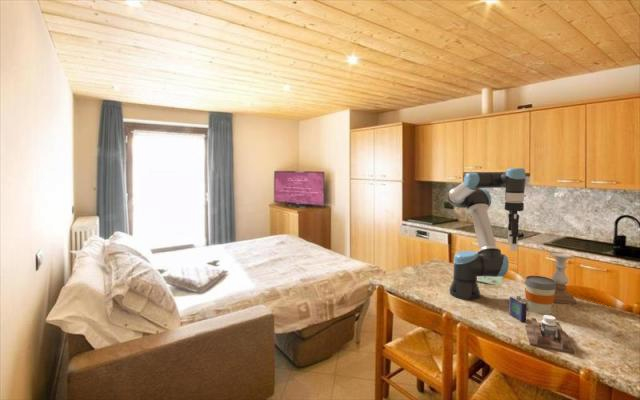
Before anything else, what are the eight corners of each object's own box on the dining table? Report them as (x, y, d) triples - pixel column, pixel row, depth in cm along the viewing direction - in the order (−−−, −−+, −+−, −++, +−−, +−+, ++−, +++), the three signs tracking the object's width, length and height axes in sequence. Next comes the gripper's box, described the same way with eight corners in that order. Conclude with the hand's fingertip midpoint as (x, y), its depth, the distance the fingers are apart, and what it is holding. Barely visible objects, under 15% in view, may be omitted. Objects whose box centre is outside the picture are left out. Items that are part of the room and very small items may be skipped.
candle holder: (576, 304, 161) (579, 257, 159) (551, 302, 164) (554, 256, 161) (564, 295, 172) (567, 251, 170) (541, 294, 174) (544, 251, 172)
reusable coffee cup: (545, 318, 147) (547, 286, 146) (517, 307, 158) (519, 278, 157) (560, 312, 153) (562, 281, 152) (532, 302, 164) (534, 273, 163)
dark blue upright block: (507, 313, 152) (508, 292, 151) (513, 313, 152) (514, 291, 151) (522, 323, 143) (523, 300, 142) (528, 322, 143) (529, 299, 142)
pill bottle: (540, 332, 133) (542, 313, 132) (555, 336, 130) (556, 316, 129) (540, 337, 129) (542, 317, 128) (555, 341, 126) (556, 320, 125)
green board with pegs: (477, 270, 217) (478, 257, 216) (511, 277, 202) (512, 263, 201) (461, 279, 200) (461, 265, 199) (497, 288, 185) (497, 273, 184)
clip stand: (575, 353, 119) (575, 342, 119) (530, 345, 125) (530, 334, 125) (564, 333, 133) (565, 323, 133) (525, 326, 140) (525, 316, 139)
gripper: (527, 205, 135) (525, 254, 137) (520, 199, 157) (518, 242, 160) (507, 204, 139) (504, 252, 141) (503, 199, 161) (501, 240, 163)
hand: (512, 247), depth 150 cm, fingers open, 13 cm apart
